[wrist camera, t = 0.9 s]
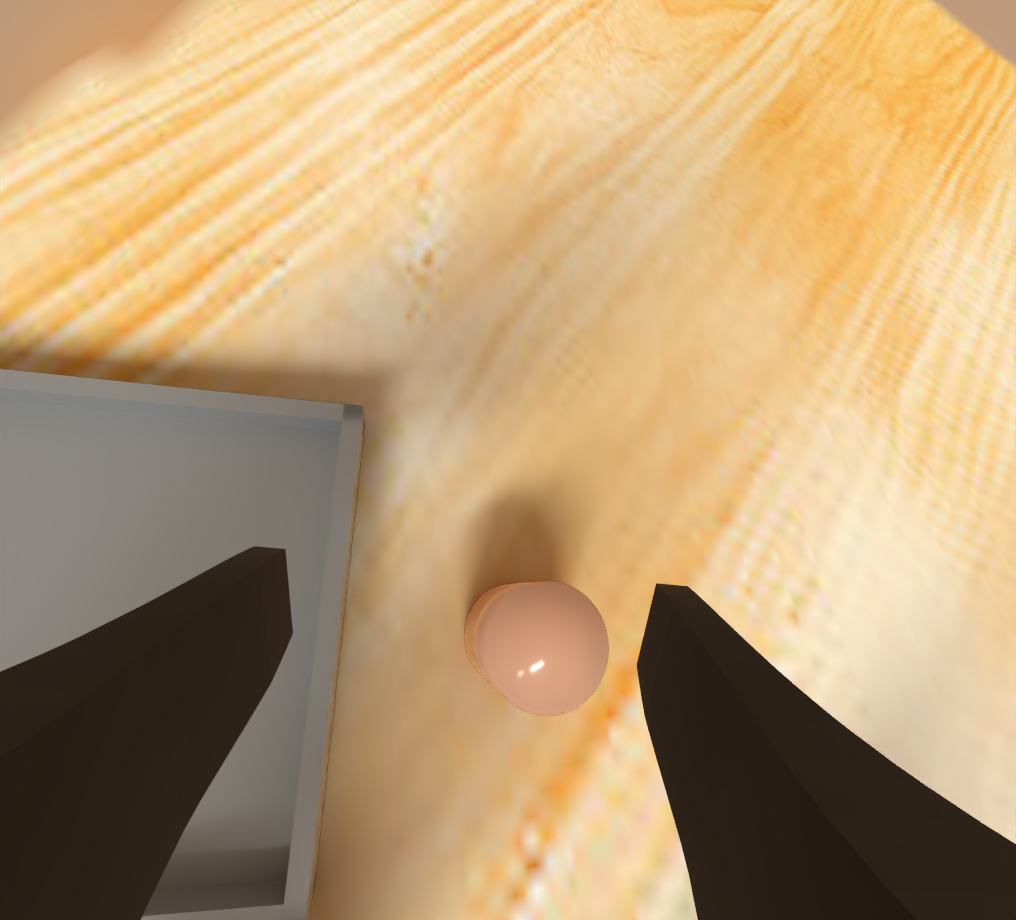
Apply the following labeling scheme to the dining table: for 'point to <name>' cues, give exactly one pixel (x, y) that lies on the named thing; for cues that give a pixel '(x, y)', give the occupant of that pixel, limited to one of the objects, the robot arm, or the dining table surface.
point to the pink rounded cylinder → (538, 645)
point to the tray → (176, 559)
